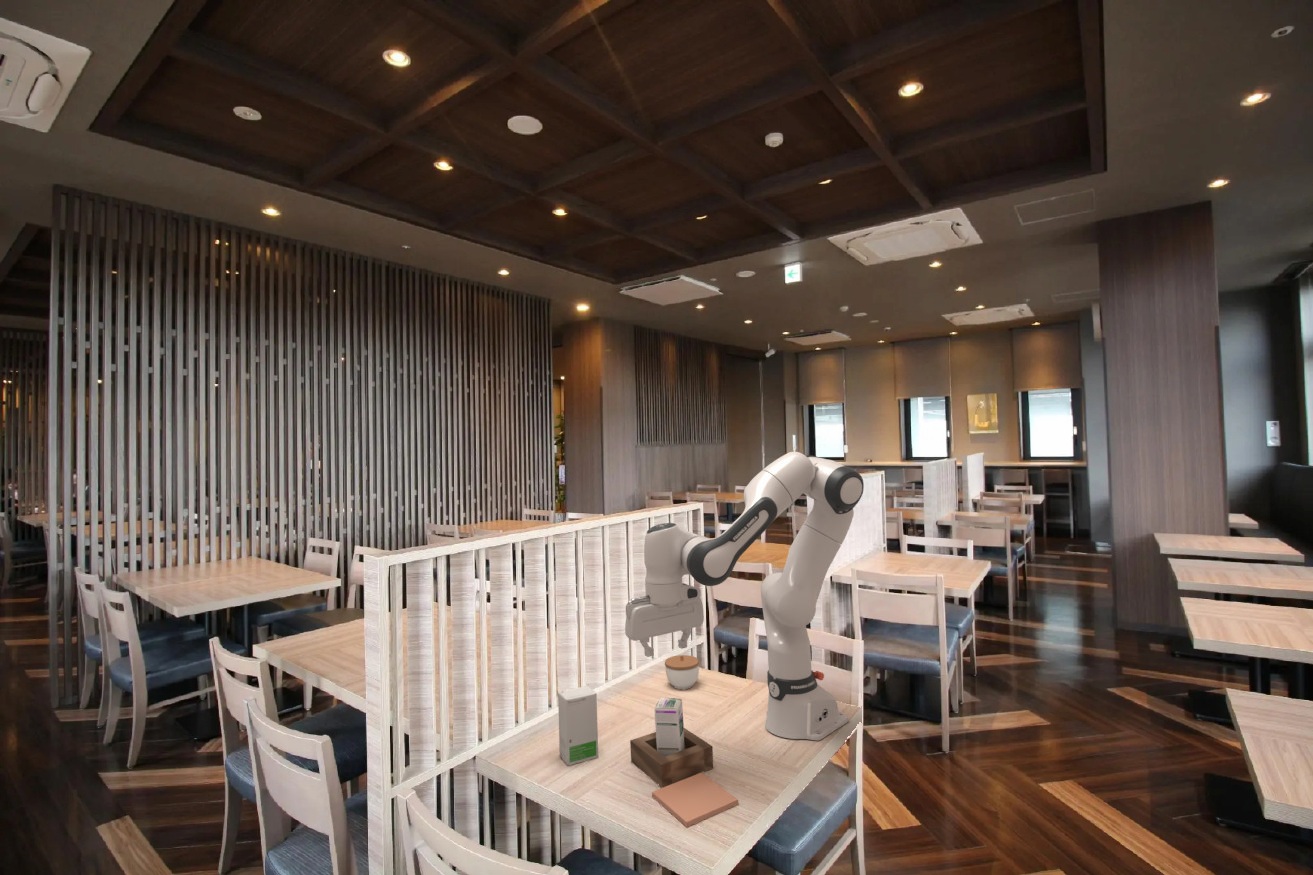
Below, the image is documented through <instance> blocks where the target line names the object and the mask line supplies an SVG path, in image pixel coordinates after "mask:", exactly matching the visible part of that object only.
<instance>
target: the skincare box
mask: <svg viewBox="0 0 1313 875" xmlns="http://www.w3.org/2000/svg"><path fill="white" fill-rule="evenodd" d="M557 699H558V700H557V701H558V702H557V703H558V707H557V708H558V740H559V741H558V742H559V744H558V746H559V756H560V757H561V758H562V760H563V762H564V763H565V764H566V765H567V766H571V765H572V766H573V765H575V764H579V763H582V762H586V761H590V760H594V759H598V758H599V732H598V731H599V730H598V704H597V703H598V701H597V692H595V691H594V689H592V688H591V687H590V686H588V685H586V686H581V687H573V688H570V689H564V690H559V691H558V692H557Z"/></svg>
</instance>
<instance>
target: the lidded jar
mask: <svg viewBox="0 0 1313 875" xmlns="http://www.w3.org/2000/svg"><path fill="white" fill-rule="evenodd" d="M699 665H700V661H699V659H698V658H697V657H695V656H692V655H688V654H687V655H686V654H685V655H684V654H679V655H673V656H670V657H668V658H666V659H665V661H664V666H665V667H664V668H665V674H666V678H667V681H668V682H669V683H670V685H672V686H674V687H673V688H674V689H677V690H689V689H690V688H692V687H693V685H694V684H695V683H696V682H697V680H698V678H699V673H700V672H699V670H700V668H699V667H700V666H699Z"/></svg>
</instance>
